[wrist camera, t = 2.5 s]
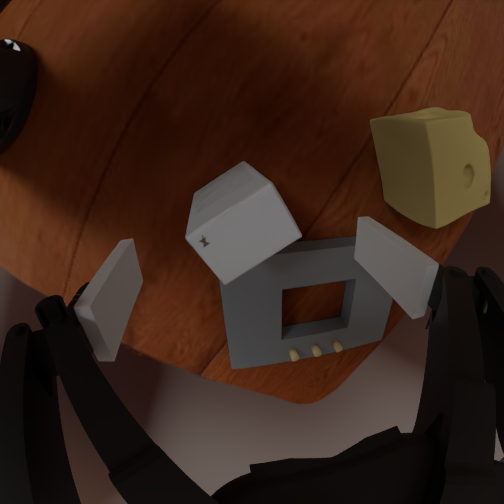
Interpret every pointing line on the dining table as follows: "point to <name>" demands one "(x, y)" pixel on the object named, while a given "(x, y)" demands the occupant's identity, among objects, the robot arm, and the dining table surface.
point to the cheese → (432, 165)
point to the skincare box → (239, 222)
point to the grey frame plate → (306, 334)
